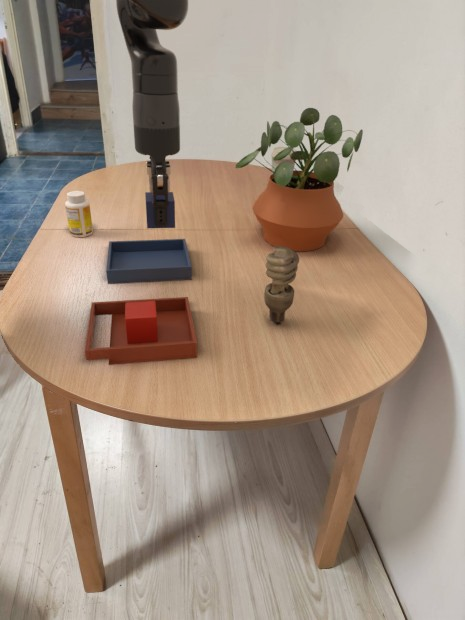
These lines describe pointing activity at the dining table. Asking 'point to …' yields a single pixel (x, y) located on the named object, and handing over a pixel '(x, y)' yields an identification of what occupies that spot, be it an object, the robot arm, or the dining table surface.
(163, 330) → the front tray
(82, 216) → the supplement bottle
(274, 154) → the coffee cup
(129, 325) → the red block
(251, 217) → the dining table surface
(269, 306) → the light bulb
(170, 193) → the blue block
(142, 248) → the back tray
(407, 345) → the dining table surface
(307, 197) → the potted plant
